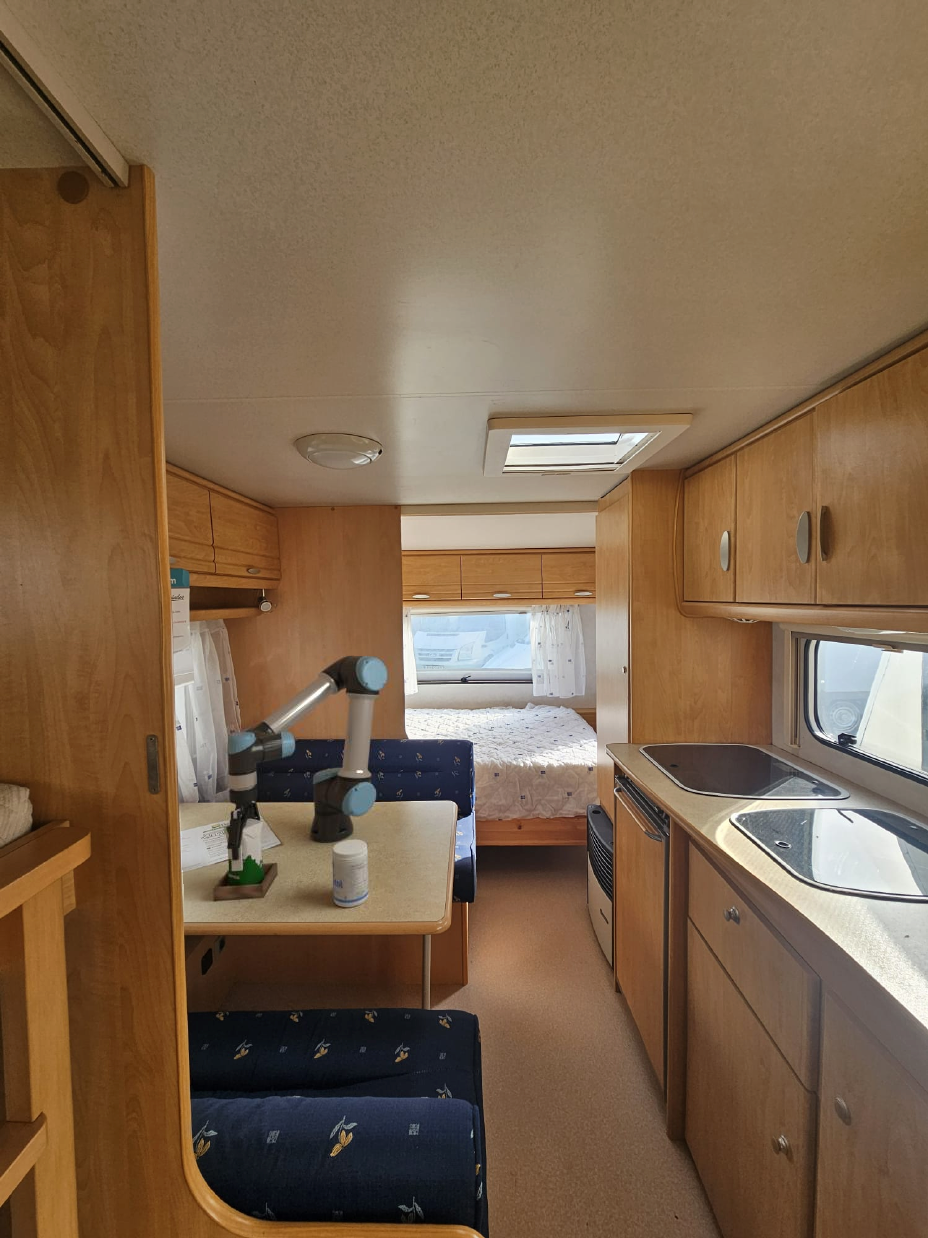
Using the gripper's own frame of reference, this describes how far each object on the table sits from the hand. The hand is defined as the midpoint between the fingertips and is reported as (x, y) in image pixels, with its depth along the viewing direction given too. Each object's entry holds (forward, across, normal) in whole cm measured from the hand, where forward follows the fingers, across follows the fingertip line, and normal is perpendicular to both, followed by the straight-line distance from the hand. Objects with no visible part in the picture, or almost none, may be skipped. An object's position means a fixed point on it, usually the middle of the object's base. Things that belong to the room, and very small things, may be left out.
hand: (246, 859), depth 153 cm
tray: (+8, 0, 0) cm, 8 cm away
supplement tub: (+8, +11, +32) cm, 35 cm away
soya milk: (+8, 0, 0) cm, 8 cm away
